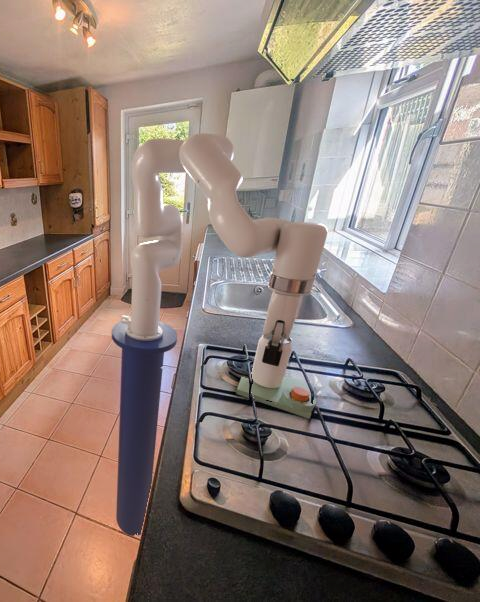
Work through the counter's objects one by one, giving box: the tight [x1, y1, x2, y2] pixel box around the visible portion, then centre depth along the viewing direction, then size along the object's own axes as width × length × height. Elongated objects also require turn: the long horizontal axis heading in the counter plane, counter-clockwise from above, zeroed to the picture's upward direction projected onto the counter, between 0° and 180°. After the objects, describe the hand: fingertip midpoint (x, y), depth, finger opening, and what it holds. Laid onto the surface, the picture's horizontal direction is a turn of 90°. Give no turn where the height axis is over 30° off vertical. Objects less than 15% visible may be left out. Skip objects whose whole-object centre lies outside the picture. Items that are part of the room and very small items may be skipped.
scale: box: [235, 375, 317, 420], centre depth 70 cm, size 14×12×3 cm
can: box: [251, 332, 293, 389], centre depth 70 cm, size 6×6×12 cm
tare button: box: [291, 387, 309, 402], centre depth 64 cm, size 3×3×2 cm
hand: (272, 355), depth 69 cm, fingers closed on can, 6 cm apart
